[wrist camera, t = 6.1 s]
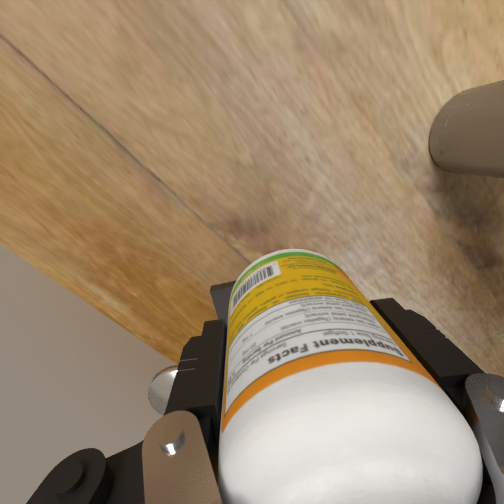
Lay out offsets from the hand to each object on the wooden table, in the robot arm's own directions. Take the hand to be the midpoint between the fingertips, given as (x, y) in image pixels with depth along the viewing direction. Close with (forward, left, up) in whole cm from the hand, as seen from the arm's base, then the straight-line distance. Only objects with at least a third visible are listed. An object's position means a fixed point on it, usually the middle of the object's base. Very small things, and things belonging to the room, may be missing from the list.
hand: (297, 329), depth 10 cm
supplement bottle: (0, 0, -2) cm, 2 cm away
